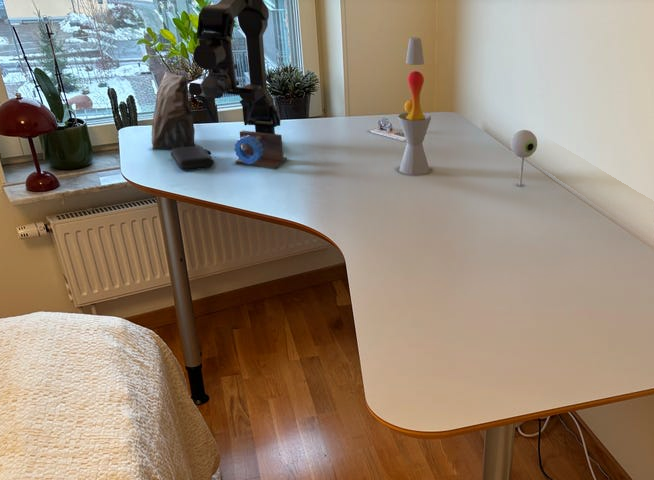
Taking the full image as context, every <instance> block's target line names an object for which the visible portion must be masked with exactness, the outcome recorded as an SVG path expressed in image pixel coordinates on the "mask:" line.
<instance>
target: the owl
mask: <svg viewBox="0 0 654 480" xmlns="http://www.w3.org/2000/svg"><path fill="white" fill-rule="evenodd" d="M187 82H188V77H186V76H185V75H180V74H174V73H173V72H172V71H168V70H166V71H165V73H164V75H163V76H162V79H161V82H160V84H159V87H158V88H157V91H156V96H155V105H154V110H153V116H152V122H151V145H152V150H153V151H154V150H159V151H160V150H161V151H172V150H173V149H174V148H182V147H193V146H197V145H196V144H195V133H196V132H195V131H196V129H195V126H194V117H193V113H192V104H191V101H190V99H189V92H188V83H187Z"/></svg>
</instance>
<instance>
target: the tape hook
mask: <svg viewBox="0 0 654 480" xmlns="http://www.w3.org/2000/svg"><path fill="white" fill-rule="evenodd" d="M248 135H250V136H252V137H255V138H256V139H258V140H259V142H260V143H261V144H262V148H263V155H262V156H261V159H259V160H258V161H256V162H255V163H253V164H251V163H250V164H247V163H244V162H242V160H240V159H239V158H237V159H236V160H235V164H236V165H240V166H250V167H258V168H259V167H260V168H266V169H273V170H274V169H277V168H278V167H280V166H281V165H283V164H284V163H286V162H287V161H288V157H287V156H284V148H283V147H284V146H283V137H282V134H279V133H278V134H277V133H275V134H270V133H260V132H255V131H250V130H240V131H239V139H240V138H242V137H244V136H248ZM241 149H242V150H244V151H245V152H246V153H247V154H248V155H250V156H253V154H254V150H253V147H251V145H249V144H242V145H241Z"/></svg>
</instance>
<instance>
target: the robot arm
mask: <svg viewBox="0 0 654 480" xmlns="http://www.w3.org/2000/svg"><path fill="white" fill-rule="evenodd" d="M235 18H236V19H237V25H238V27H239V29H240V30H241V31H242V34H243V35H244V36H245V37H244V38H245V45H246V47H245V48H246V57H247V68H248V69H247V70H248V79H249V83H247V84H246V85H243V86H239V85H240V81H239V80H237V77H236V69H238V65H237V64H236V63H235V61H234V60H235V59H234V52H233V51H234V50H233V45H232V40H233V32H234V29H235V25H236V24H235V23H236V21H235ZM269 18H270V12H269V8H268V6H267V4H266V2H265V1H264V0H220V1H218V3H215V4H208V5H204V6H203V7H201V9H200V11H199V13H198V20H197V27H196V28H197V29H196V35H195V36H196V39H197V40H198V45H197V46H196V47H195V48H194V50H193V54H192V57H193V61H194V63H195V64H196V65H197V67H199V68H201V69H202V70H206V71H207V70H208V71H207V72H208V73H207V76H205V77H204V79H203V78H198V79H195V80H193V81H190V82H188V84H187V87H188V95H191V96H193V98H195V99H197V100H199V101H200V102H201V103H202V104H203V106H204V107H205V109H206V112H207V113H208V115H209V117H210V120H211V122H213V123H216V122H217V107H216V99H220V98H222V97H223V95H224V94H227V95H236V96H237V95H238V96H239V97H240V99H241V100H239V103H240V106H241V107H242V119H243V125H244V126H254V130H255V131H254V132H260V133H270V134H276V127H280V126H281V115H280V113H279V110H278V109H277V106H275V100H274V98H273V96H272V95H271V93H270V91H269V90H268V85H267V83H268V81H267V73H266V60H265V59H266V58H265V49H264V48H265V46H264V34H265V32H266V30H267V28H268V21H269Z"/></svg>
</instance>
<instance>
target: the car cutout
mask: <svg viewBox="0 0 654 480" xmlns="http://www.w3.org/2000/svg"><path fill="white" fill-rule="evenodd" d="M377 123H378V125H377V126H376V128H374V129H370V133H374V134H377V135H381V136H384V137H388V138H391V139H395V140H398V141H402V142H406V139H405V136H404V133H403V130H398V129H395V128H394V127H393V124H392V123H391V122H390V120H389V118H387V117H381V119H379V120H378V122H377Z"/></svg>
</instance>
